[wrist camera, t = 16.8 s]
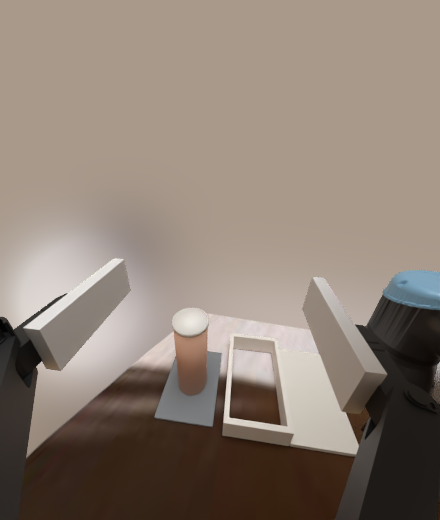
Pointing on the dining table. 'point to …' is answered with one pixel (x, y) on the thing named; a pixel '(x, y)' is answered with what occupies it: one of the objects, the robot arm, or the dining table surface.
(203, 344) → the tube
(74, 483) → the dining table surface
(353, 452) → the white holder tray
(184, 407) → the felt mat
